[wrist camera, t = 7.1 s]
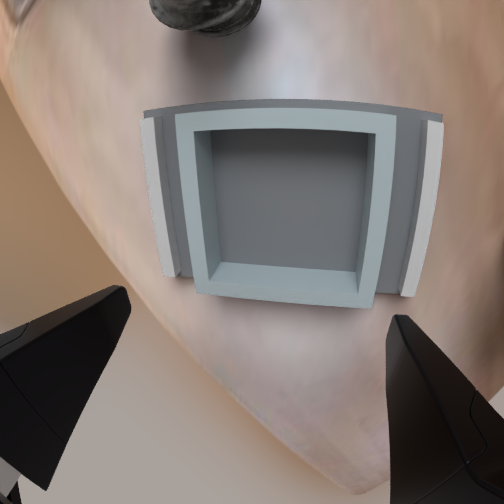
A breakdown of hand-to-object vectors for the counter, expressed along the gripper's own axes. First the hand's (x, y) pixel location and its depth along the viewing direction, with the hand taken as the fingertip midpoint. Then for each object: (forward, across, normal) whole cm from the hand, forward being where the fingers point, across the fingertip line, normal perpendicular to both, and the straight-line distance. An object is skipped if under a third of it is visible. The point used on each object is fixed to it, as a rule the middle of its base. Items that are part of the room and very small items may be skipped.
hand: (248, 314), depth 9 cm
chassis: (+12, 0, 0) cm, 12 cm away
